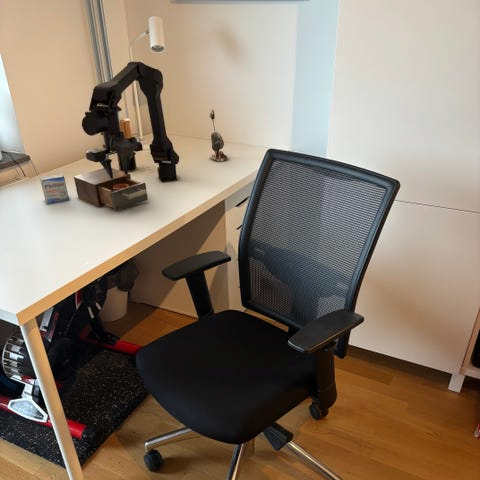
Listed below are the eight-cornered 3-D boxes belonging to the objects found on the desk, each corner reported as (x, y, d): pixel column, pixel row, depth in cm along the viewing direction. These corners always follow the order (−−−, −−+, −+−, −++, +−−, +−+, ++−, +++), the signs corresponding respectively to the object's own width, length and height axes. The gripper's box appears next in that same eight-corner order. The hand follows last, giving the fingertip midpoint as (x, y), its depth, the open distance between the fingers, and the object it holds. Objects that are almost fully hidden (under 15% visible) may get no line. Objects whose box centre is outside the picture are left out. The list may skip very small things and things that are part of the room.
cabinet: (133, 196, 182) (130, 174, 178) (99, 207, 174) (94, 184, 169) (112, 188, 190) (108, 166, 186) (78, 198, 182) (73, 176, 177)
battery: (116, 171, 208) (108, 120, 196) (124, 166, 213) (116, 116, 202) (132, 172, 206) (124, 121, 195) (139, 167, 211) (132, 117, 200)
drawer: (156, 203, 173) (153, 185, 170) (124, 214, 165) (120, 196, 162) (126, 192, 183) (124, 175, 180) (95, 202, 176) (91, 184, 172)
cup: (114, 197, 176) (112, 184, 174) (129, 195, 177) (128, 183, 175) (115, 202, 172) (113, 189, 169) (131, 200, 173) (129, 187, 171)
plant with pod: (207, 163, 214) (204, 113, 203) (212, 155, 223) (209, 107, 212) (226, 163, 213) (223, 113, 202) (230, 155, 222) (228, 107, 211)
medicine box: (47, 204, 178) (41, 180, 173) (45, 200, 181) (39, 176, 176) (69, 200, 181) (64, 176, 176) (67, 196, 184) (61, 173, 179)
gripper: (100, 138, 151) (109, 188, 160) (149, 126, 162) (155, 174, 171) (80, 132, 158) (90, 181, 166) (129, 121, 169) (136, 168, 177)
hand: (119, 176), depth 170 cm, fingers open, 5 cm apart
